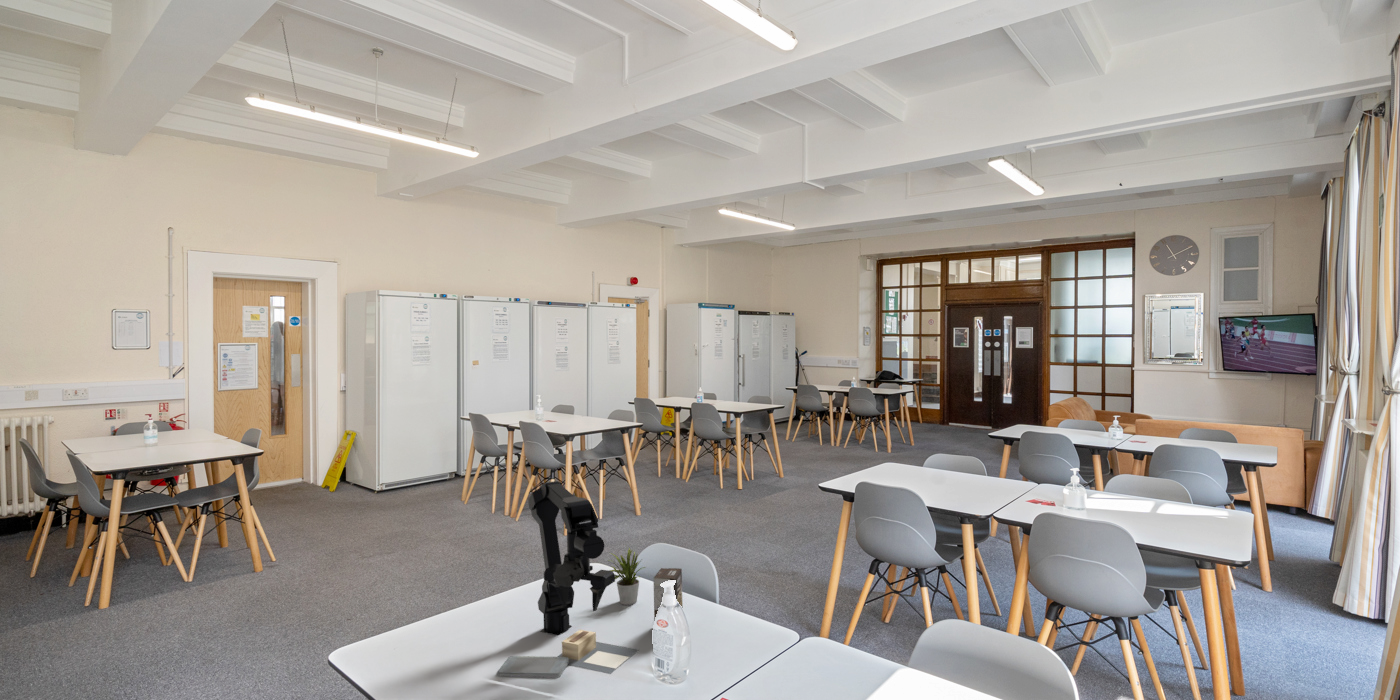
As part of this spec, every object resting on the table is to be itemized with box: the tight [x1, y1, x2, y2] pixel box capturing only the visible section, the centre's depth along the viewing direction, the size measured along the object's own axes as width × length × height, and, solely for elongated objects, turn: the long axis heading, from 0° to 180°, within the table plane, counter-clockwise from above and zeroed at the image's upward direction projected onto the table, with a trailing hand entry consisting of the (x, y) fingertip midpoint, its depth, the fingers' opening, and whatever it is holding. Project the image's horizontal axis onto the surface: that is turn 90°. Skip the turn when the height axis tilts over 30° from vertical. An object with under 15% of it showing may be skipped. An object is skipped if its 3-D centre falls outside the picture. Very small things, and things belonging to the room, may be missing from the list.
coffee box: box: [653, 567, 684, 621], centre depth 190 cm, size 9×6×16 cm
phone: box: [496, 655, 569, 679], centre depth 168 cm, size 8×16×1 cm, turn 83°
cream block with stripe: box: [561, 629, 597, 660], centre depth 176 cm, size 8×5×4 cm, turn 155°
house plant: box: [608, 547, 647, 606], centre depth 213 cm, size 14×14×16 cm
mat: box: [556, 641, 640, 675], centre depth 174 cm, size 18×14×1 cm
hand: (579, 608), depth 176 cm, fingers open, 9 cm apart
